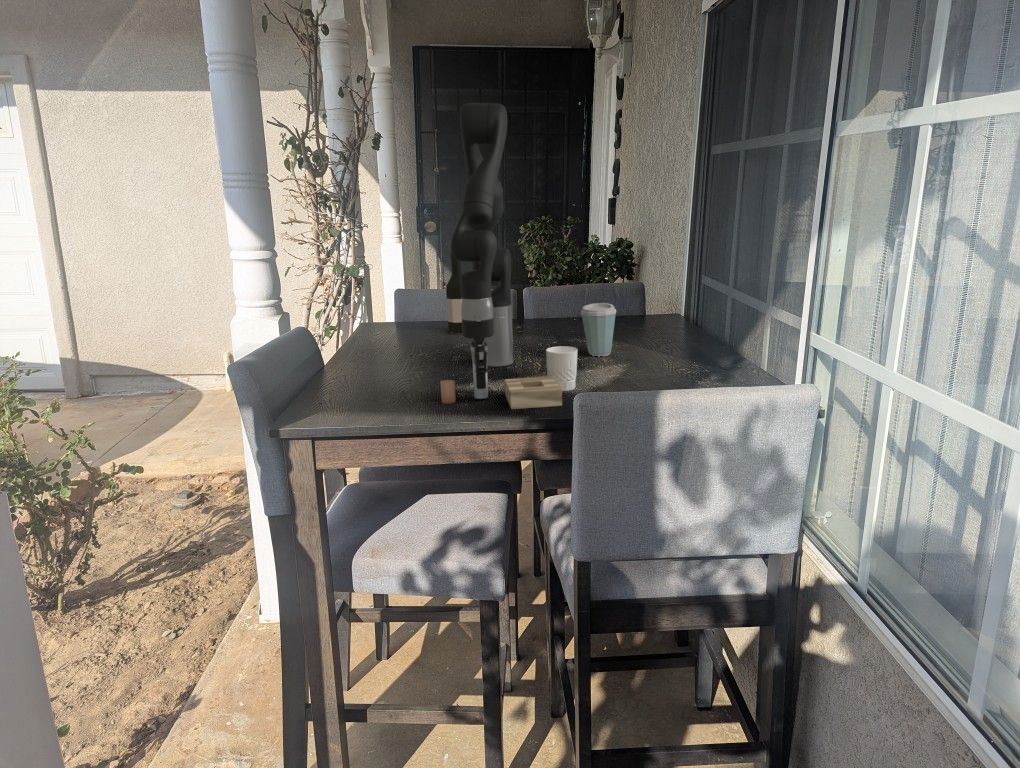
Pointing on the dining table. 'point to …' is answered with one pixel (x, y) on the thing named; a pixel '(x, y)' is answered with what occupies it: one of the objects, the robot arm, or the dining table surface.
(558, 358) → the white cup
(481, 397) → the long dowel
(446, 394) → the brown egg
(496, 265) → the robot arm
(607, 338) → the disposable coffee cup
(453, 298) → the wine bottle
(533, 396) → the hole block
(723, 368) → the dining table surface
